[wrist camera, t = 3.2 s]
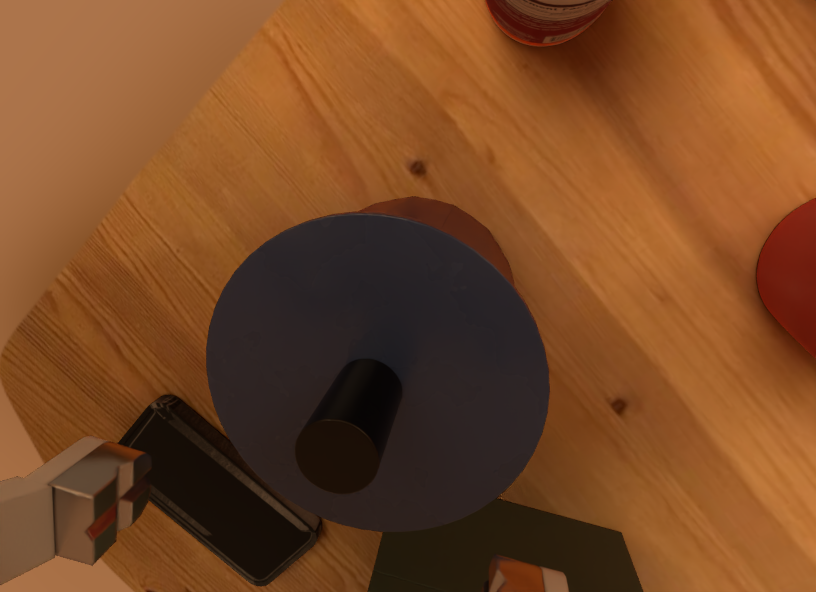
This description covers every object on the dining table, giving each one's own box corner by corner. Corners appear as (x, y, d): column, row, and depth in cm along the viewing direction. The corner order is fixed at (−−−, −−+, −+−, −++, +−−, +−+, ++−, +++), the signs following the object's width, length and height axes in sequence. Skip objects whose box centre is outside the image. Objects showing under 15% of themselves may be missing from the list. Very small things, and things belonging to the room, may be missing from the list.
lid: (210, 467, 20) (125, 565, 15) (234, 174, 16) (130, 182, 11) (495, 546, 19) (500, 679, 14) (592, 255, 15) (644, 300, 10)
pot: (310, 356, 30) (214, 469, 19) (337, 178, 27) (238, 193, 16) (484, 400, 29) (486, 545, 18) (536, 222, 26) (576, 270, 15)
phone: (156, 395, 31) (323, 537, 33) (167, 388, 32) (328, 525, 34) (101, 462, 34) (259, 592, 35) (113, 453, 35) (265, 579, 36)
